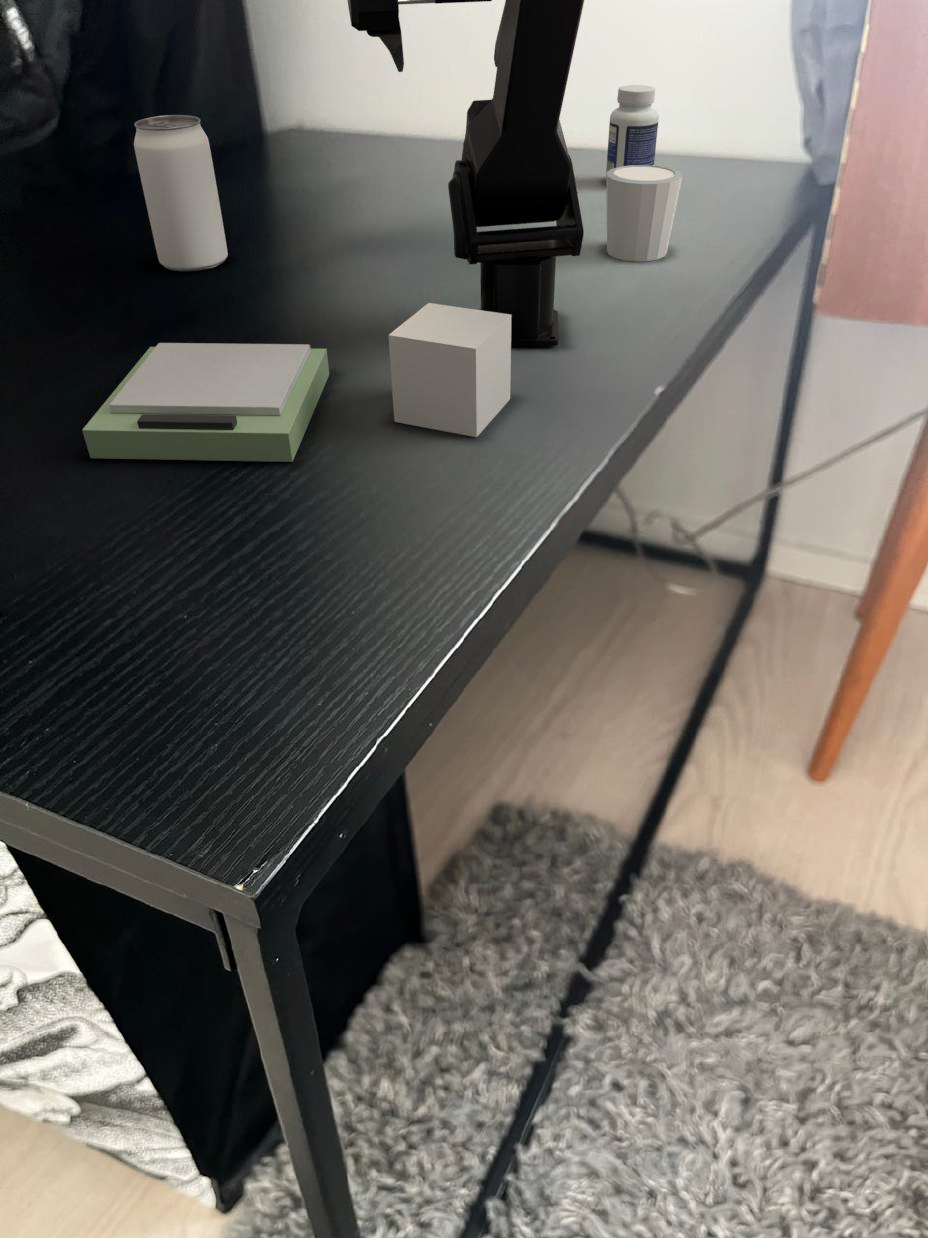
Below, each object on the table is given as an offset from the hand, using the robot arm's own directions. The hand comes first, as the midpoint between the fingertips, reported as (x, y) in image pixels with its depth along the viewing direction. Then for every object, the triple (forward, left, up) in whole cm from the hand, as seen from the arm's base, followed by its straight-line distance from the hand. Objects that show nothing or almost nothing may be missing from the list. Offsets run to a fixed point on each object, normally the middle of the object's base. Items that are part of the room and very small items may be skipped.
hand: (448, 65), depth 88 cm
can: (-12, +24, -15) cm, 30 cm away
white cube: (-42, -3, -15) cm, 45 cm away
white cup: (-8, -18, -15) cm, 25 cm away
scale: (-43, +13, -14) cm, 47 cm away
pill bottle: (+17, -19, -15) cm, 30 cm away
